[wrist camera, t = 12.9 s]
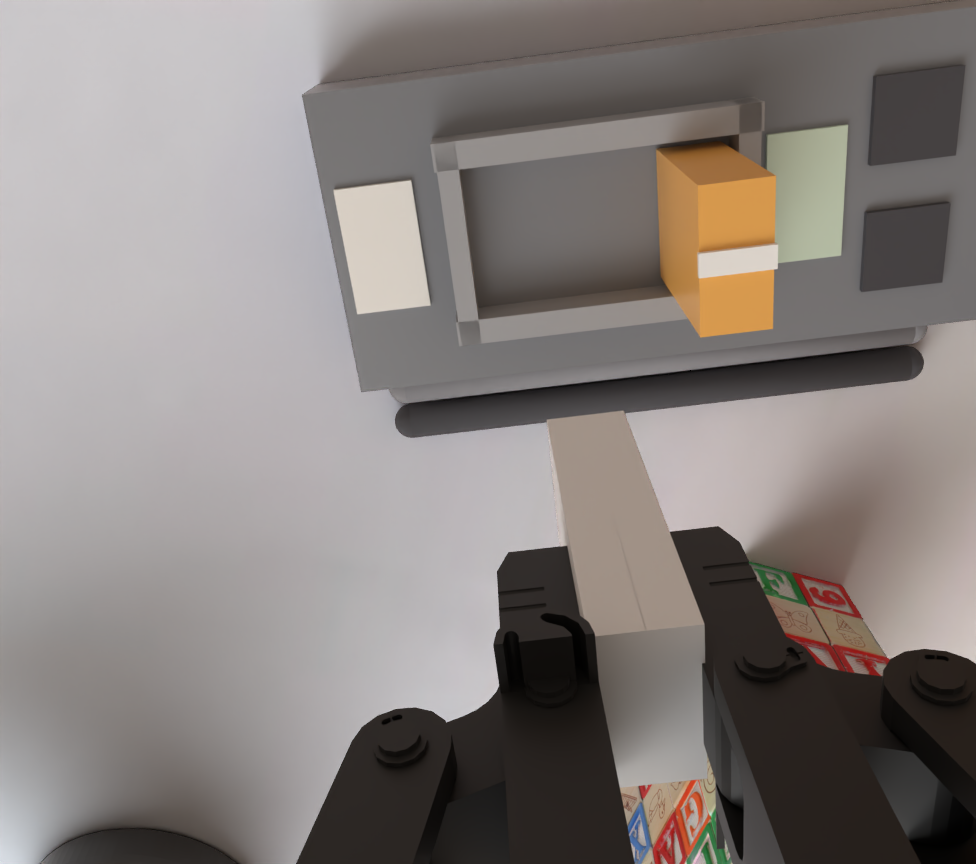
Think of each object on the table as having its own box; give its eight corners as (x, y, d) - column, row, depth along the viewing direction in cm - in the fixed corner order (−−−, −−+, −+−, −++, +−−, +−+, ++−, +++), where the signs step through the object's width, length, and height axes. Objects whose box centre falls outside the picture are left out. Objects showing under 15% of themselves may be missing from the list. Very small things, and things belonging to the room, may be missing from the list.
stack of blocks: (687, 847, 57) (738, 1053, 46) (594, 828, 56) (624, 1033, 45) (843, 582, 48) (954, 758, 37) (737, 553, 47) (817, 726, 36)
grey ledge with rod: (399, 430, 44) (397, 445, 42) (387, 365, 42) (384, 378, 41) (912, 370, 43) (928, 383, 41) (919, 302, 41) (935, 313, 40)
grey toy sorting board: (370, 357, 42) (357, 406, 37) (318, 84, 37) (294, 99, 32) (936, 290, 41) (999, 331, 36) (966, -1, 36) (1045, 0, 31)
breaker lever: (659, 277, 36) (700, 339, 30) (654, 149, 34) (697, 187, 28) (721, 269, 36) (776, 330, 30) (721, 140, 34) (779, 176, 27)
